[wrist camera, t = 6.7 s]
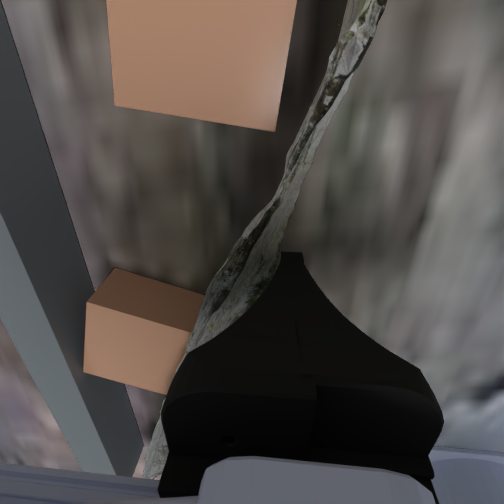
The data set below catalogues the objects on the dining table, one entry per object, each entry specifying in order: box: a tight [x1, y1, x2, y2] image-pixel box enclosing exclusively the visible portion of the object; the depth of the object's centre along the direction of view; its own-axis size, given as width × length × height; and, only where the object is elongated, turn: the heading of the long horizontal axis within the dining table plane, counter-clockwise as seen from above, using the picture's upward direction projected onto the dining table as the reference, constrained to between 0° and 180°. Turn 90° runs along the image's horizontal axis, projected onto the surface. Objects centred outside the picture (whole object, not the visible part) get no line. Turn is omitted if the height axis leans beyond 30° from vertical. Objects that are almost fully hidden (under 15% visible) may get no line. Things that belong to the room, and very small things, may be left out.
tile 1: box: [106, 0, 297, 132], centre depth 9 cm, size 4×4×2 cm
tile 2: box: [83, 268, 205, 395], centre depth 15 cm, size 4×4×2 cm
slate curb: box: [0, 1, 144, 477], centre depth 13 cm, size 2×32×3 cm, turn 0°
